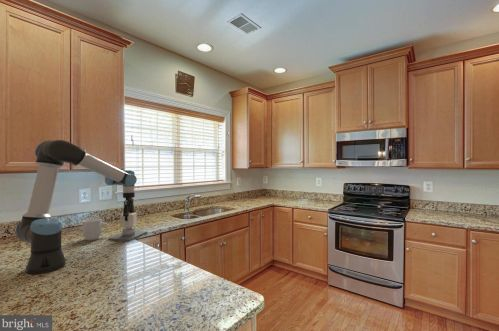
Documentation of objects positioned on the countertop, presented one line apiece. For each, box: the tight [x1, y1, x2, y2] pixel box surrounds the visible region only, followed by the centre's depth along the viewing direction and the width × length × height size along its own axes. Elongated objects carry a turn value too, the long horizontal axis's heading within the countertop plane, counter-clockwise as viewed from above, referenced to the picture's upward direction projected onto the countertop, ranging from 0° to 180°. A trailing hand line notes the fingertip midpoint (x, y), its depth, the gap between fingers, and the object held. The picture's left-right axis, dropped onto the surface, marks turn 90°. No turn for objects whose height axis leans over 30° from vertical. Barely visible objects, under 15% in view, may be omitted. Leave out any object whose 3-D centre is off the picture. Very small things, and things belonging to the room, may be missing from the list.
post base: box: [107, 227, 148, 242], centre depth 174 cm, size 20×16×10 cm
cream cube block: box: [119, 212, 138, 228], centre depth 174 cm, size 8×8×8 cm
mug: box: [82, 218, 109, 242], centre depth 168 cm, size 15×11×13 cm
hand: (128, 223), depth 174 cm, fingers closed on cream cube block, 8 cm apart
